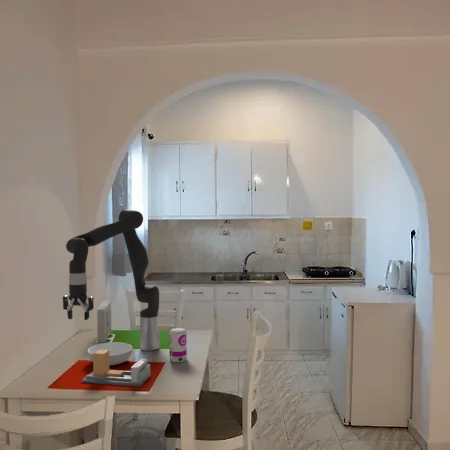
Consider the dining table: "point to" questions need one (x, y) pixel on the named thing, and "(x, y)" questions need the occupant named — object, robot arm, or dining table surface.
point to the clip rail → (124, 376)
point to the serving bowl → (113, 351)
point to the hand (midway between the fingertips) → (78, 319)
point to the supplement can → (178, 344)
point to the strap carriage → (103, 365)
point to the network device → (104, 322)
